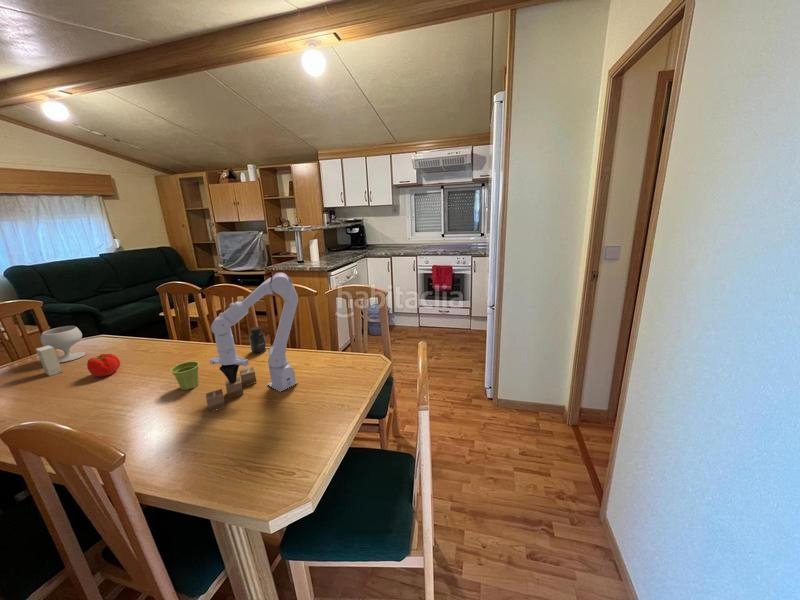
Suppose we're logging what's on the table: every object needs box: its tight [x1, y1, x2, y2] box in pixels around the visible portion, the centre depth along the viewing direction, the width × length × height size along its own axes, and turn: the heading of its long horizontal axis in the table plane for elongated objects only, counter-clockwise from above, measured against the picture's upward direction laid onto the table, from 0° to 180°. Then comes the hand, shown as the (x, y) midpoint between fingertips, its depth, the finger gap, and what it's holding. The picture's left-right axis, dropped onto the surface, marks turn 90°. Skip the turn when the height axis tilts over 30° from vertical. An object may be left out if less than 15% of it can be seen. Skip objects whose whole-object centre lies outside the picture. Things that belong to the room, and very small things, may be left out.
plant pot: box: [170, 360, 200, 391], centre depth 126 cm, size 9×9×9 cm
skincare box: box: [35, 345, 63, 376], centre depth 142 cm, size 6×4×12 cm
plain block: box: [224, 376, 244, 399], centre depth 121 cm, size 5×5×5 cm
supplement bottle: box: [248, 326, 267, 355], centre depth 157 cm, size 7×7×12 cm
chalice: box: [40, 325, 86, 364], centre depth 157 cm, size 14×14×15 cm
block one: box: [205, 388, 226, 412], centre depth 113 cm, size 5×5×5 cm
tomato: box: [86, 353, 121, 377], centre depth 140 cm, size 11×11×9 cm
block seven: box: [239, 366, 257, 387], centre depth 129 cm, size 5×5×5 cm
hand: (233, 381), depth 120 cm, fingers closed
